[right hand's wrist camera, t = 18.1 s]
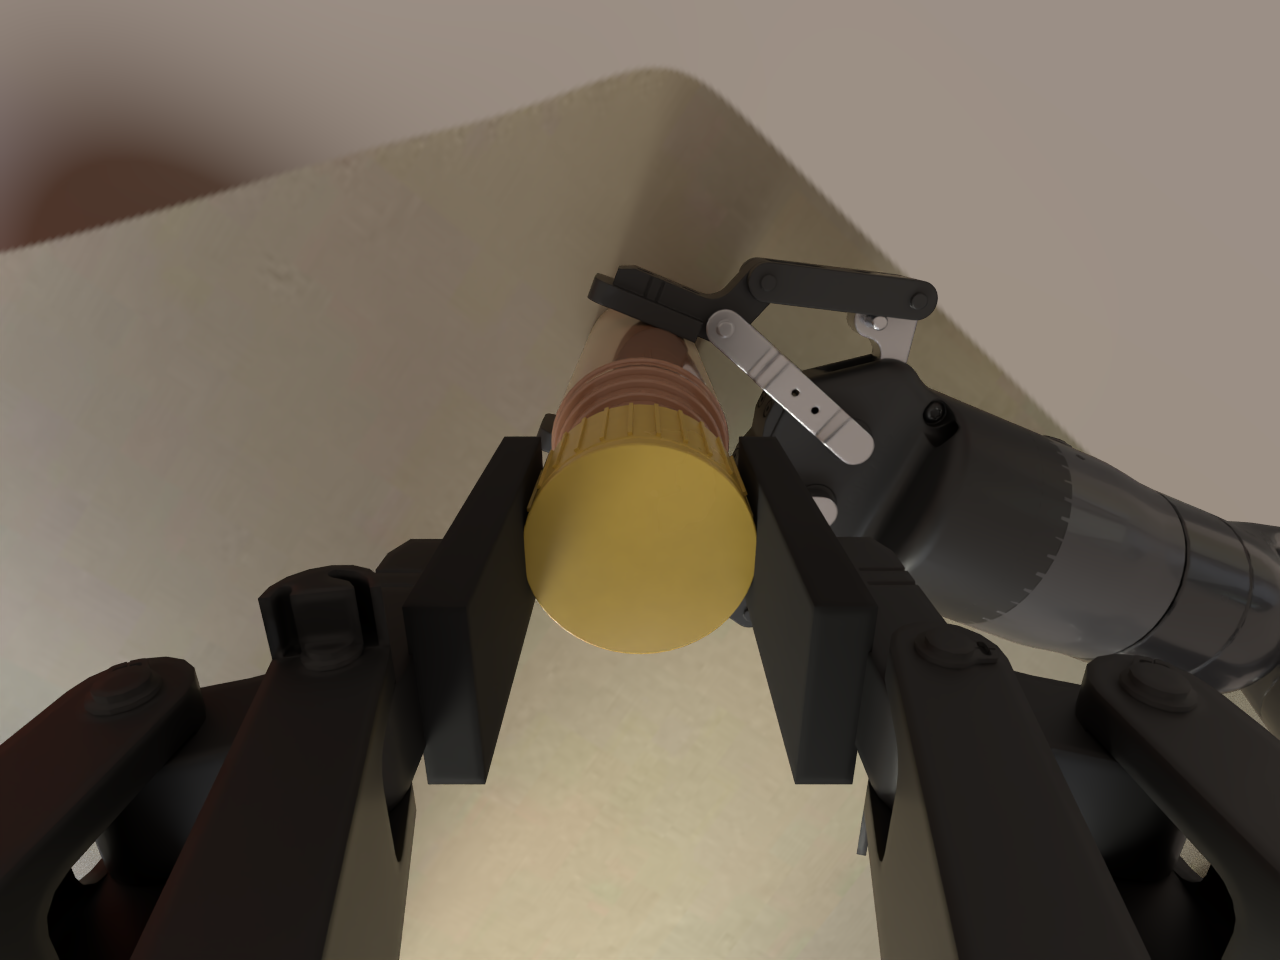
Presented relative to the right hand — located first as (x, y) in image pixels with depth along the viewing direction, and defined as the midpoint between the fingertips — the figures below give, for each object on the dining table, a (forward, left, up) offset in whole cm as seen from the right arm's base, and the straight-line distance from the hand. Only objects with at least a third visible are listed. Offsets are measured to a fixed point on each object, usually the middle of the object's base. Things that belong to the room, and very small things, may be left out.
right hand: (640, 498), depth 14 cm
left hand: (+2, +2, -10) cm, 10 cm away
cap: (0, 0, +2) cm, 2 cm away
